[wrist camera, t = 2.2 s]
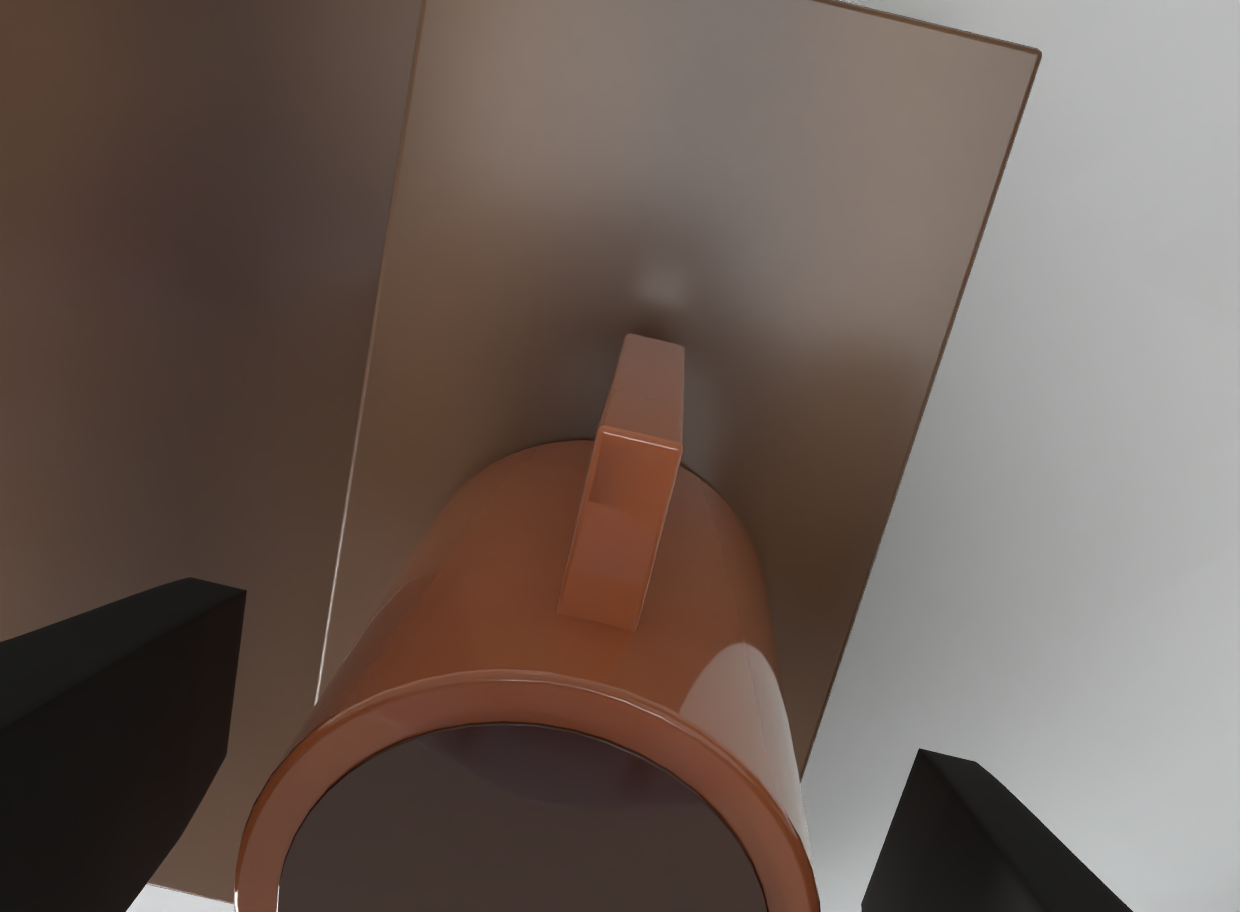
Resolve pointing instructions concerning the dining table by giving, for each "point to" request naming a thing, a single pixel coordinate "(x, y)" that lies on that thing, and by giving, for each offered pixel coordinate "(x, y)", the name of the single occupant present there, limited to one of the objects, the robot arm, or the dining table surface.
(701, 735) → the double-handled copper mug
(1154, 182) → the dining table surface
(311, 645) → the brown slab
